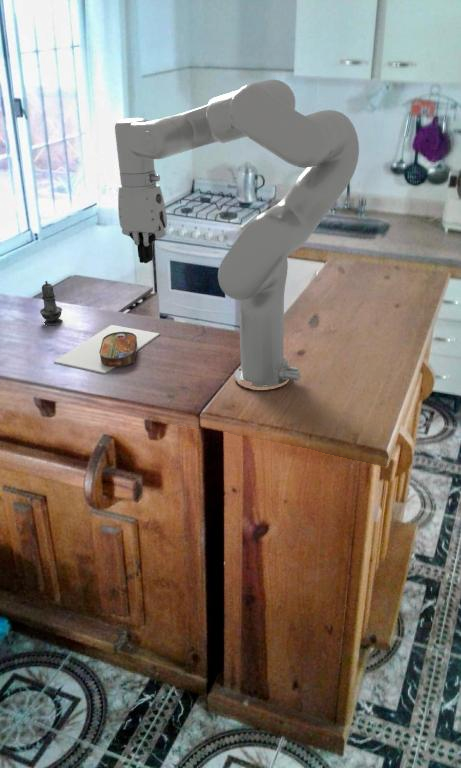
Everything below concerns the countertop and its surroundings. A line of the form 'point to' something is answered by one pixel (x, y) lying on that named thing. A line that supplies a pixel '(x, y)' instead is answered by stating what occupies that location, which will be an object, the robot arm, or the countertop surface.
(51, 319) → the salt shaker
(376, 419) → the countertop surface
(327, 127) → the robot arm
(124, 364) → the tin
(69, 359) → the felt mat
